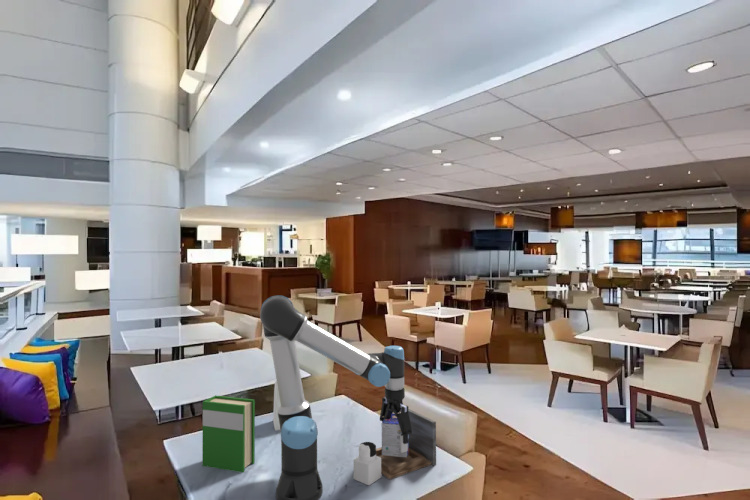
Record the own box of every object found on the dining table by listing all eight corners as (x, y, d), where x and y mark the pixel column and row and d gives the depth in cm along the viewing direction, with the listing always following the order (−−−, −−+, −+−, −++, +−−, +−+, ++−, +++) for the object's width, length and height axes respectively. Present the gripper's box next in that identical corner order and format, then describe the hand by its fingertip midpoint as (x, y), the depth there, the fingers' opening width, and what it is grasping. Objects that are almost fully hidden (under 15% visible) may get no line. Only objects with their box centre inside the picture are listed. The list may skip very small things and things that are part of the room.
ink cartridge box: (409, 451, 163) (409, 413, 164) (407, 458, 158) (407, 418, 158) (384, 449, 165) (383, 411, 166) (381, 455, 160) (381, 417, 160)
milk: (273, 420, 204) (273, 366, 204) (297, 418, 207) (297, 364, 208) (274, 430, 192) (275, 372, 193) (300, 427, 196) (300, 370, 196)
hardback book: (254, 463, 162) (254, 399, 162) (243, 472, 155) (243, 406, 155) (215, 457, 167) (215, 395, 167) (202, 465, 160) (202, 401, 160)
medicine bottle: (366, 471, 155) (366, 438, 155) (381, 477, 151) (381, 443, 151) (353, 479, 150) (353, 444, 150) (368, 486, 145) (368, 450, 145)
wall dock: (391, 480, 148) (390, 434, 149) (361, 458, 165) (361, 416, 165) (436, 464, 160) (435, 421, 160) (403, 445, 176) (403, 406, 177)
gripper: (421, 393, 155) (422, 454, 154) (385, 378, 174) (386, 433, 173) (405, 397, 151) (405, 460, 150) (370, 382, 170) (370, 438, 169)
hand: (395, 446), depth 162 cm, fingers closed on ink cartridge box, 10 cm apart
